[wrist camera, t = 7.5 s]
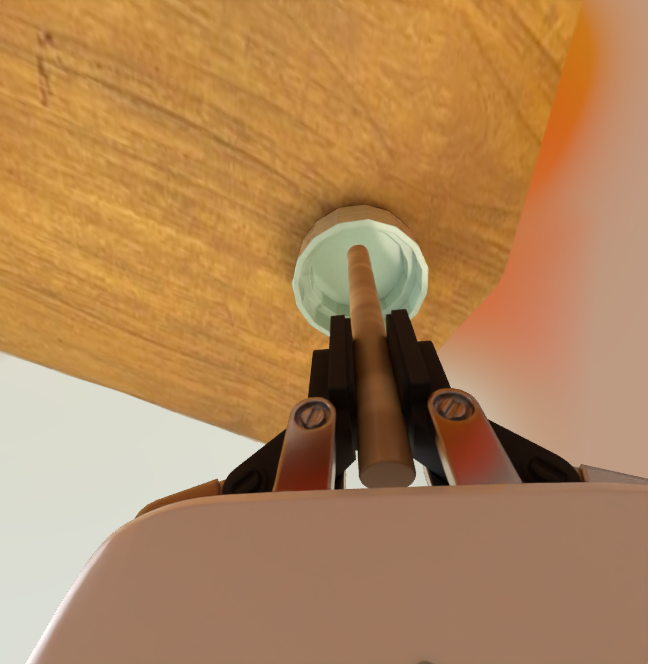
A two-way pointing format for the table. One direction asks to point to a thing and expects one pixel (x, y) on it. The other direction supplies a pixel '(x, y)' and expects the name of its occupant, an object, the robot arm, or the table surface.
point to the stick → (375, 385)
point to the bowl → (332, 271)
